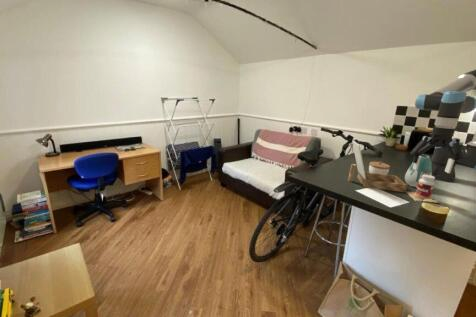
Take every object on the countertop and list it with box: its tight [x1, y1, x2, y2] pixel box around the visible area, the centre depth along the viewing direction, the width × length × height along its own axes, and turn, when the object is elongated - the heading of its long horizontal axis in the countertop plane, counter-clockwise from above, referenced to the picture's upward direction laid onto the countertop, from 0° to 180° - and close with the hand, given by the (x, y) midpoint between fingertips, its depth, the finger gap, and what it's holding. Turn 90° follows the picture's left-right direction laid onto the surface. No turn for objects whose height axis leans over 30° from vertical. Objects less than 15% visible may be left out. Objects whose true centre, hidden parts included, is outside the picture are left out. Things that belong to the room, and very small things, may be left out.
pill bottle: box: [415, 175, 436, 199], centre depth 111 cm, size 6×6×11 cm
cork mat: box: [405, 190, 436, 203], centre depth 113 cm, size 10×10×1 cm
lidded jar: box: [368, 161, 391, 175], centre depth 138 cm, size 11×11×9 cm
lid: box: [351, 140, 366, 179], centre depth 126 cm, size 19×13×1 cm
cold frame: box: [347, 163, 409, 193], centre depth 126 cm, size 26×14×10 cm, turn 78°
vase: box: [404, 153, 432, 189], centre depth 125 cm, size 12×12×18 cm
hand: (430, 170), depth 109 cm, fingers open, 13 cm apart
